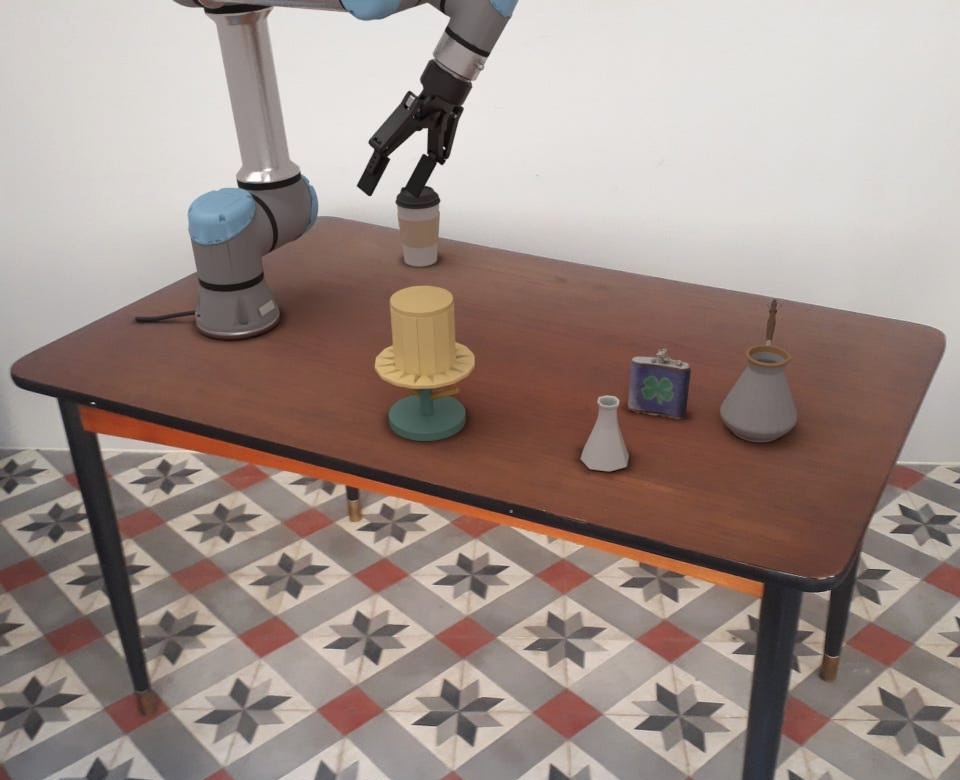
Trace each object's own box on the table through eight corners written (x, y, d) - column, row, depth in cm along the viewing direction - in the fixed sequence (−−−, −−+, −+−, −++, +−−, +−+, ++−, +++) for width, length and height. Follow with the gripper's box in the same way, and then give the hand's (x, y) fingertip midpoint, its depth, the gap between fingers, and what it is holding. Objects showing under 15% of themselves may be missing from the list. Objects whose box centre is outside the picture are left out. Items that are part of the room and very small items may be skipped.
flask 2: (626, 411, 165) (631, 350, 159) (629, 402, 168) (635, 342, 162) (684, 420, 163) (691, 359, 157) (687, 411, 165) (694, 351, 159)
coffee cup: (445, 251, 220) (442, 181, 211) (439, 269, 212) (436, 197, 204) (402, 250, 221) (398, 180, 212) (395, 268, 213) (391, 196, 205)
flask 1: (576, 447, 157) (579, 389, 151) (624, 444, 158) (628, 386, 152) (584, 474, 151) (587, 415, 145) (633, 471, 152) (638, 412, 146)
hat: (358, 379, 155) (351, 312, 149) (401, 335, 166) (396, 272, 160) (451, 396, 150) (449, 328, 144) (489, 350, 162) (488, 285, 156)
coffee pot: (792, 454, 155) (809, 364, 146) (714, 443, 157) (726, 354, 149) (797, 385, 172) (813, 301, 163) (726, 376, 174) (738, 293, 166)
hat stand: (376, 432, 161) (366, 314, 150) (408, 396, 170) (401, 281, 159) (447, 447, 158) (443, 327, 146) (477, 409, 167) (475, 293, 155)
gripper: (426, 73, 145) (359, 204, 155) (508, 92, 167) (444, 206, 176) (389, 44, 147) (324, 175, 157) (474, 67, 169) (413, 181, 178)
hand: (388, 192), depth 167 cm, fingers open, 13 cm apart
